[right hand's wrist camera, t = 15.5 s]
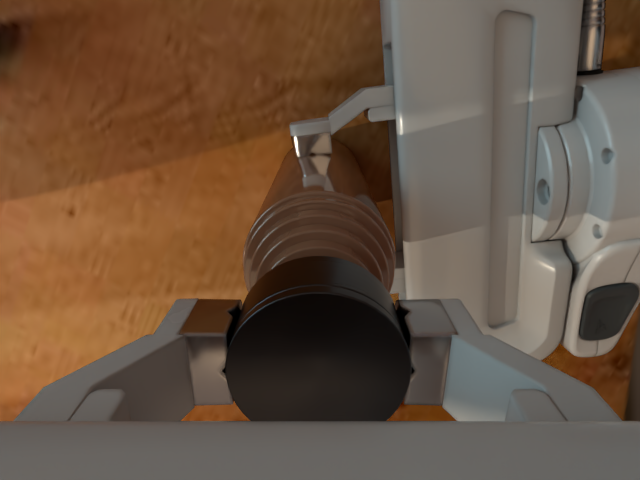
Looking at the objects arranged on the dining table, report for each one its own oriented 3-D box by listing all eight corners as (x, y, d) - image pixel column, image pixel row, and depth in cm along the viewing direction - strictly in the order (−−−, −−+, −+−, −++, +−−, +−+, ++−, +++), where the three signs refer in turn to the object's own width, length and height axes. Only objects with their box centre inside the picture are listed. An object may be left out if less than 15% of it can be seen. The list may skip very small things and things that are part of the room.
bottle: (280, 214, 27) (210, 445, 10) (279, 135, 25) (193, 249, 8) (357, 216, 27) (420, 449, 10) (362, 137, 25) (449, 256, 8)
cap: (383, 395, 11) (395, 451, 9) (238, 383, 11) (223, 438, 9) (409, 262, 9) (428, 301, 8) (243, 247, 9) (226, 283, 8)
